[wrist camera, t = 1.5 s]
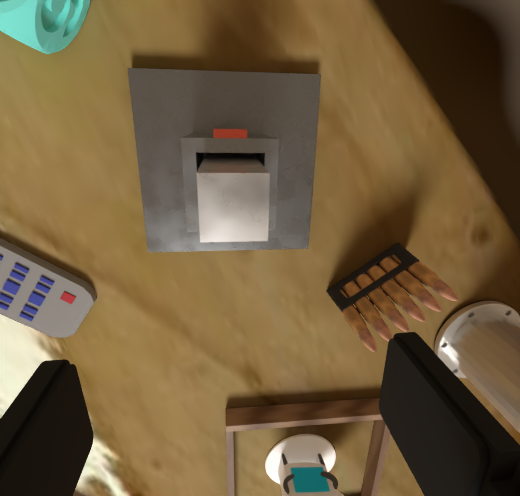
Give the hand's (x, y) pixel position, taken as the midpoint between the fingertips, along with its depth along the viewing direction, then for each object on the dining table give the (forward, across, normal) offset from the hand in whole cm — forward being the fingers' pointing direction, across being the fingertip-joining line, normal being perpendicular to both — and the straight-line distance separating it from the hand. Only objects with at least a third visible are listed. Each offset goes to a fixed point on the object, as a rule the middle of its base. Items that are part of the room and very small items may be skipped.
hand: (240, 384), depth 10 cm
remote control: (+30, +27, +8) cm, 41 cm away
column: (+27, 0, -3) cm, 27 cm away
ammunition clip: (+29, -17, +11) cm, 35 cm away
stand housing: (+29, 0, -3) cm, 29 cm away
